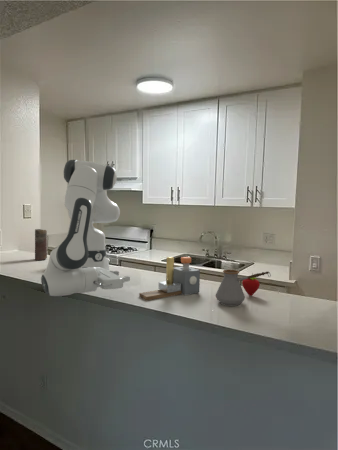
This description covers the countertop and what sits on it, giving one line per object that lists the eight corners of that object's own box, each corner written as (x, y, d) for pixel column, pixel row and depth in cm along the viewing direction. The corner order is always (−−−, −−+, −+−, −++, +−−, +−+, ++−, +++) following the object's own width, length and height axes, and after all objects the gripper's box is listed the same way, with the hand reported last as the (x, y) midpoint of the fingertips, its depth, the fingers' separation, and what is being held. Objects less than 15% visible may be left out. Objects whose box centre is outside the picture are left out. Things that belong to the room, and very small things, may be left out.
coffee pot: (210, 303, 123) (211, 266, 122) (223, 296, 132) (224, 261, 131) (263, 316, 110) (264, 274, 109) (273, 307, 119) (275, 269, 118)
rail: (139, 296, 130) (139, 293, 130) (173, 290, 140) (173, 287, 140) (146, 300, 125) (146, 296, 125) (181, 294, 135) (181, 290, 135)
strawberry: (244, 292, 139) (245, 270, 138) (261, 295, 135) (262, 272, 134) (239, 295, 134) (240, 272, 133) (256, 299, 130) (257, 275, 129)
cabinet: (171, 289, 142) (172, 267, 141) (185, 287, 146) (186, 266, 145) (185, 295, 133) (186, 272, 132) (200, 292, 137) (200, 270, 136)
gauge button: (178, 281, 140) (178, 257, 139) (186, 280, 142) (187, 256, 142) (184, 284, 136) (185, 259, 135) (192, 282, 139) (193, 258, 138)
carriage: (158, 288, 136) (159, 257, 135) (171, 286, 140) (172, 255, 139) (167, 292, 130) (168, 259, 129) (180, 290, 134) (181, 258, 133)
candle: (39, 258, 210) (38, 228, 208) (49, 258, 208) (49, 229, 207) (32, 260, 202) (32, 229, 201) (43, 260, 201) (42, 230, 199)
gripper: (100, 277, 105) (136, 273, 113) (80, 265, 122) (112, 262, 130) (100, 295, 106) (136, 290, 114) (80, 281, 123) (112, 277, 130)
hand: (123, 275), depth 122 cm, fingers open, 8 cm apart
